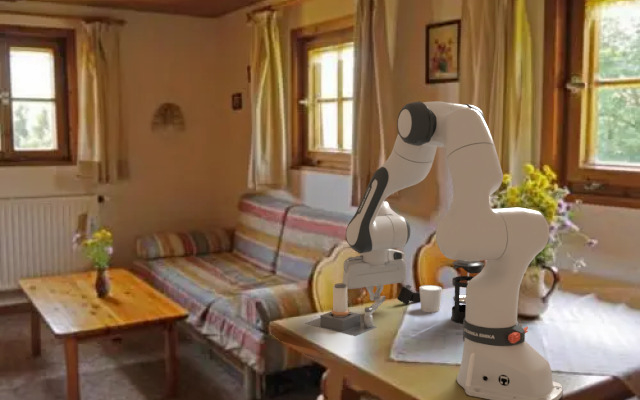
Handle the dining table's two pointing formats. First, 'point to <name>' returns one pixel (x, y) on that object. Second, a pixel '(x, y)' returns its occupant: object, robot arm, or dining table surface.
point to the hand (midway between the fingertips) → (374, 299)
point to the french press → (470, 267)
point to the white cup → (430, 298)
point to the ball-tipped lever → (374, 306)
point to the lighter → (408, 295)
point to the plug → (340, 301)
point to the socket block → (344, 323)
